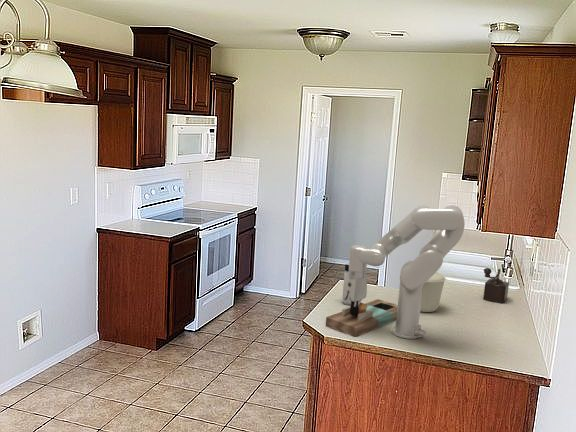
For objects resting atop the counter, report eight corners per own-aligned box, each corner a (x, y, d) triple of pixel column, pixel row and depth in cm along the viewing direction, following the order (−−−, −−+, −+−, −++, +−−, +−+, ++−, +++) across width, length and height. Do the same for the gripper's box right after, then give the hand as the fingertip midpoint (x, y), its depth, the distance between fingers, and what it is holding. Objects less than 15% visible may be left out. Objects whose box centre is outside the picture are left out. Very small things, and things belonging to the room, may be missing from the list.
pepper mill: (486, 294, 306) (489, 262, 303) (507, 299, 300) (511, 266, 297) (478, 302, 293) (482, 268, 290) (501, 306, 287) (505, 272, 284)
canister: (449, 314, 272) (454, 271, 268) (416, 316, 266) (420, 272, 262) (429, 301, 289) (433, 261, 285) (397, 303, 283) (401, 262, 279)
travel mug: (345, 305, 275) (348, 265, 272) (340, 301, 282) (343, 262, 278) (357, 305, 277) (360, 265, 273) (352, 301, 283) (355, 262, 280)
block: (364, 315, 252) (367, 304, 252) (360, 314, 248) (362, 303, 248) (355, 312, 255) (357, 301, 255) (350, 311, 251) (352, 300, 251)
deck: (405, 316, 266) (407, 301, 264) (355, 336, 237) (356, 320, 236) (377, 306, 276) (378, 293, 275) (325, 325, 248) (326, 310, 246)
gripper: (353, 278, 237) (350, 320, 240) (374, 273, 248) (370, 313, 251) (339, 274, 242) (336, 315, 245) (360, 269, 253) (356, 308, 256)
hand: (353, 314), depth 248 cm, fingers closed
